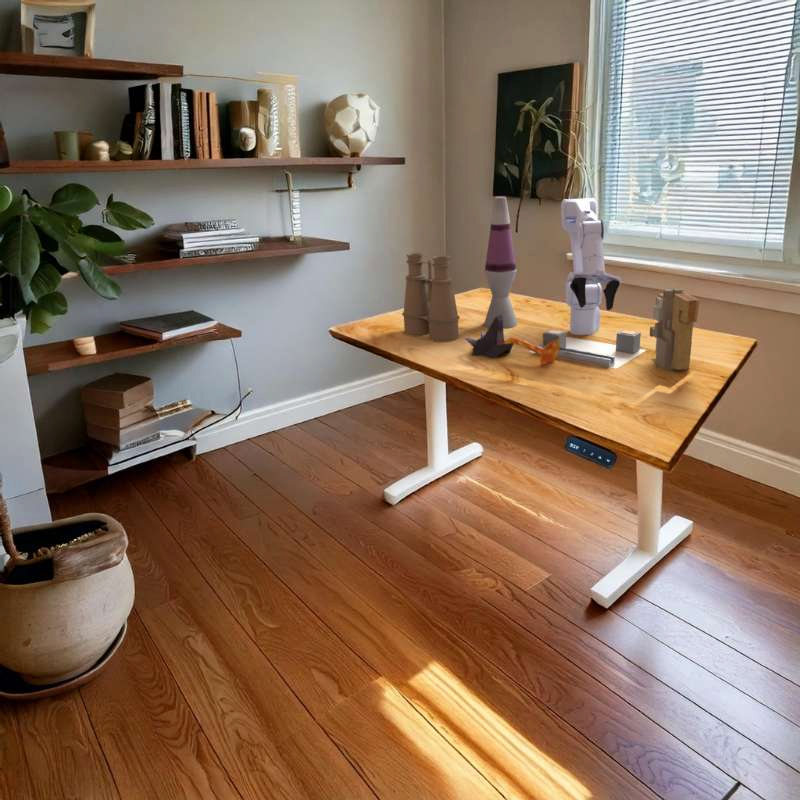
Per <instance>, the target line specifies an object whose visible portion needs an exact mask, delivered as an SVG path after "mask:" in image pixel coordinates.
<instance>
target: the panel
mask: <svg viewBox="0 0 800 800" xmlns="http://www.w3.org/2000/svg"><path fill="white" fill-rule="evenodd" d="M566 348H569V349H575V350H580V351H586V352H591V353H597V354H603V355H608V356H614V357H615V364H614V365H612V366H610V367H609V368H611V369H616V370H617V369H619V368H621V367H622V366H623V365H625V364H627V363H628V362H630V361H631V360H633V359H635V358H637V357H638V356H641V354H643V353H644V352H646V351H647V349H641V348H640V350H639V351H637V352H636V353H634V354H630V353H624V352H618V351H616V344H611V343H606V342H602V341H601V342H598V341H596V340H595V341H593V340H588V339H583V338H582V339H581V338H575V337H569V336H566ZM529 353H532V354H536V355H537V353H535V352H533V351H531V350H529ZM556 358H558V357H556ZM561 359H563V358H561ZM567 360H569V359H567ZM569 361H570V360H569ZM572 361H574V360H572ZM574 362H575V361H574ZM577 362H578V363H580V362H579V361H577ZM582 363H584V362H582ZM588 364H589V365H591V364H590V363H588ZM593 365H595V364H593ZM595 366H596V365H595ZM598 366H599V367H601V366H600V365H598ZM603 367H605V366H603Z"/></svg>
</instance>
